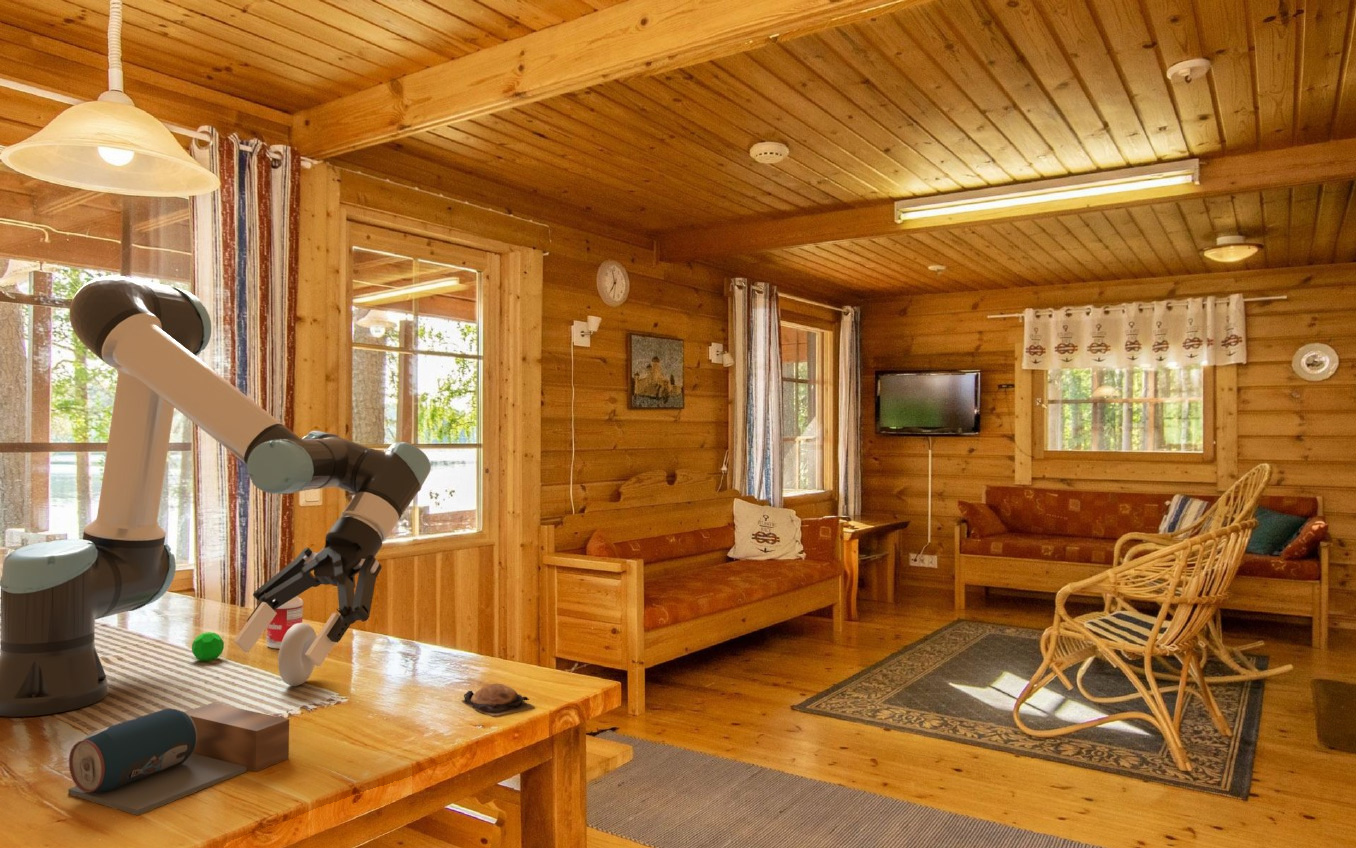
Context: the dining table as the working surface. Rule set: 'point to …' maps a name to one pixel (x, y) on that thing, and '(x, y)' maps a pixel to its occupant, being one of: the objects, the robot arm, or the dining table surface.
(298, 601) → the pill bottle
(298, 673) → the donut
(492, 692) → the brown domed piece
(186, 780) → the charcoal mat
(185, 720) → the soda can
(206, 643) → the polyhedron
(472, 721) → the dining table surface
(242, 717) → the walnut block
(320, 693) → the dining table surface
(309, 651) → the robot arm
